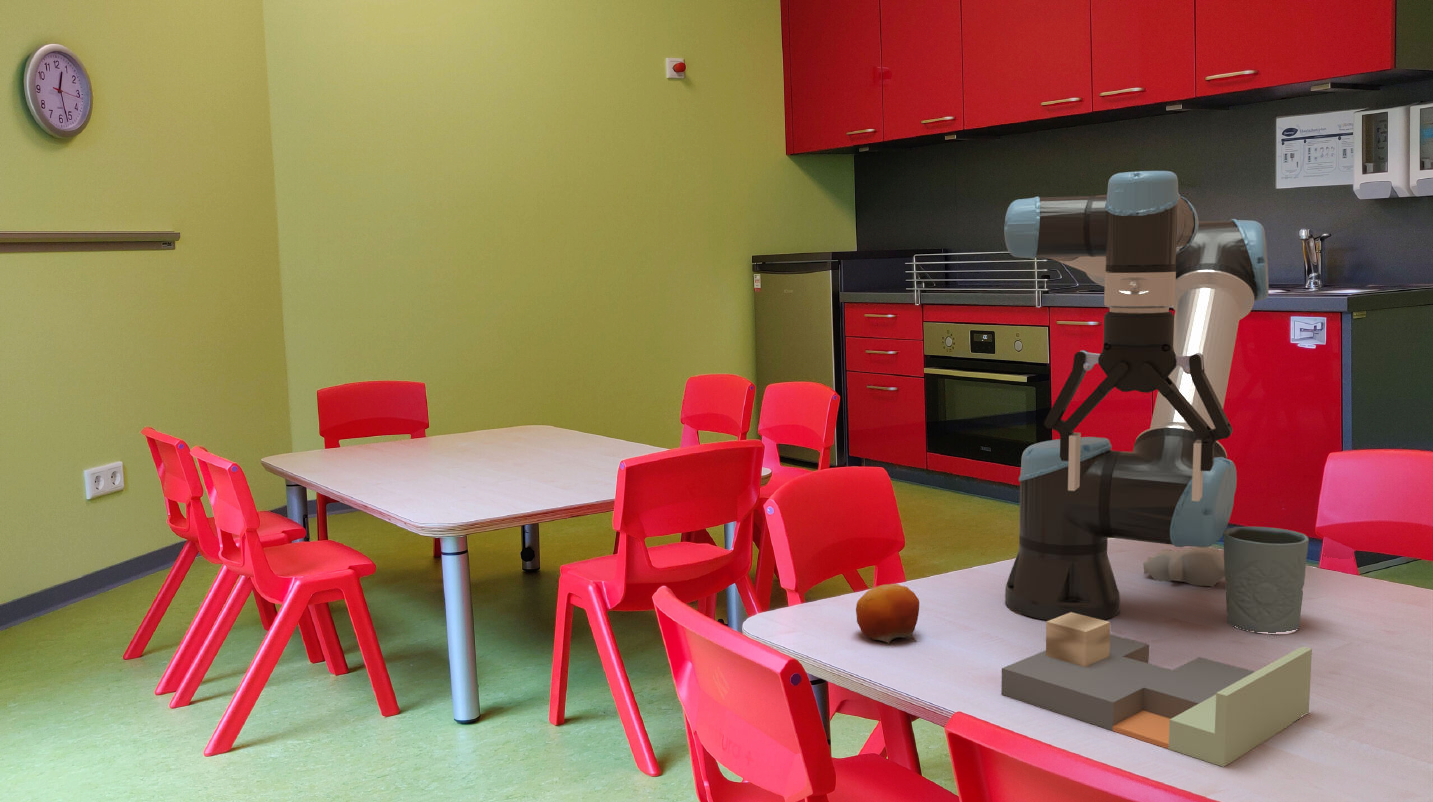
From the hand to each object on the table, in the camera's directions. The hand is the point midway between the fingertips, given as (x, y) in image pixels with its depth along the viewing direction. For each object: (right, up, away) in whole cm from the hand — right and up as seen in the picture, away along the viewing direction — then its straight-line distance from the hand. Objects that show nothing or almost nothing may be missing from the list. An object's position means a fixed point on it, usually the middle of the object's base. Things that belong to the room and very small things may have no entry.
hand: (1133, 493), depth 133 cm
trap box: (-1, -22, -9) cm, 24 cm away
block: (-7, -18, -3) cm, 20 cm away
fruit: (-26, -20, +14) cm, 36 cm away
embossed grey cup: (+23, -19, +17) cm, 34 cm away
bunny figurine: (+23, -16, +36) cm, 46 cm away
